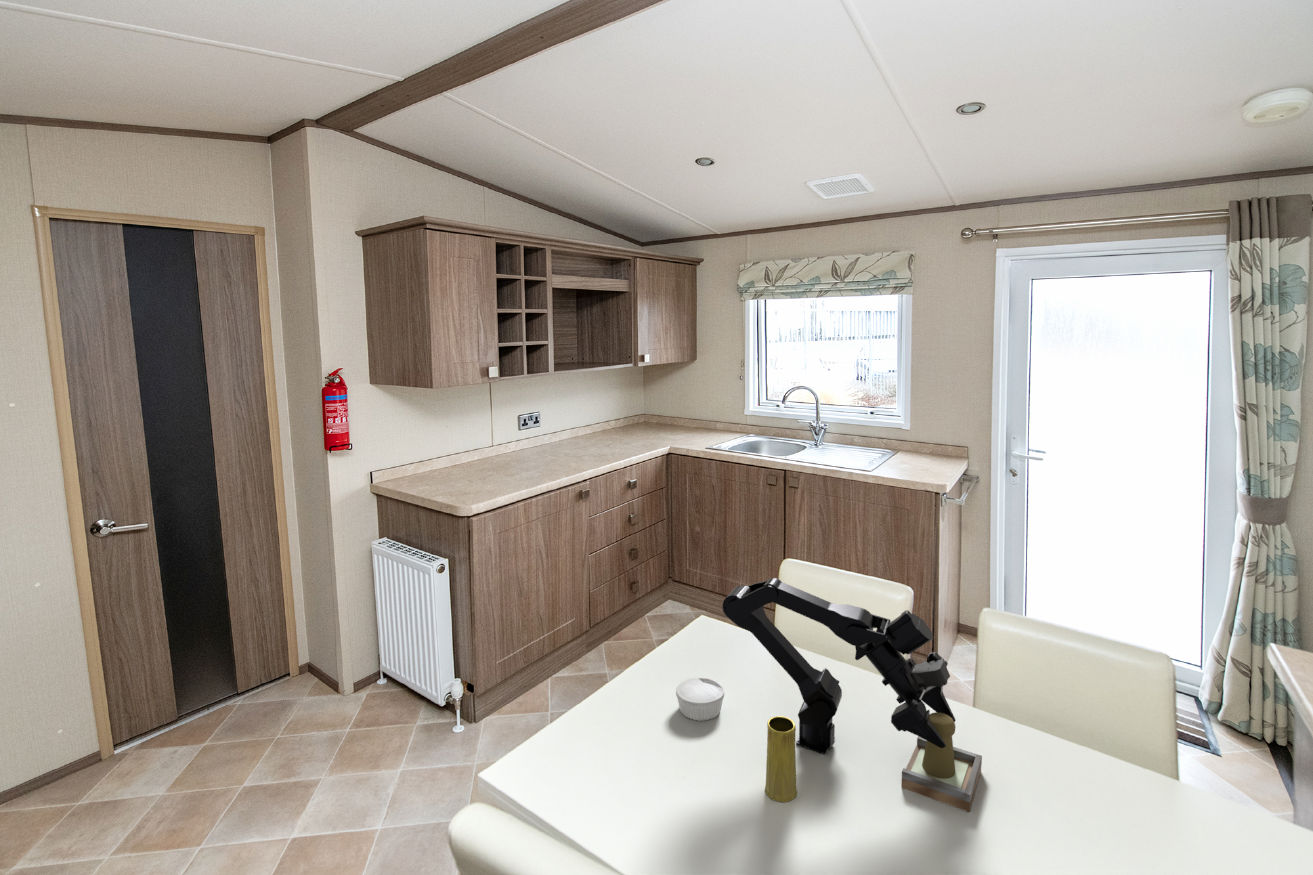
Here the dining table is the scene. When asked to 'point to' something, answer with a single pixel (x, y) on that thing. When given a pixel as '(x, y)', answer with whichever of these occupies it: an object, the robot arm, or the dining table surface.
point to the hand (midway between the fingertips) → (949, 734)
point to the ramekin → (700, 698)
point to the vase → (781, 759)
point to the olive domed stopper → (937, 758)
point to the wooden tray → (944, 790)
